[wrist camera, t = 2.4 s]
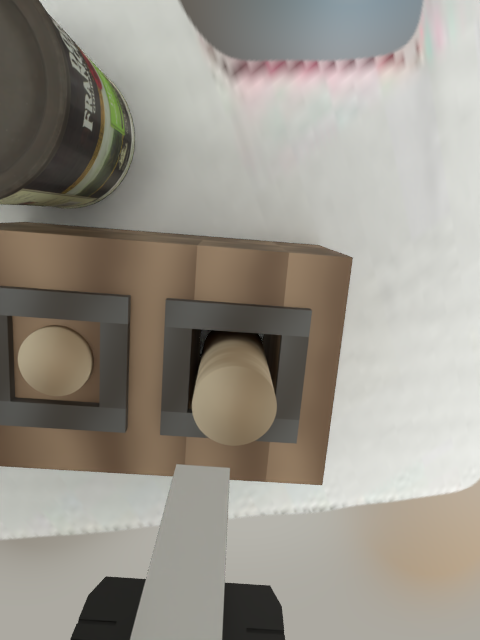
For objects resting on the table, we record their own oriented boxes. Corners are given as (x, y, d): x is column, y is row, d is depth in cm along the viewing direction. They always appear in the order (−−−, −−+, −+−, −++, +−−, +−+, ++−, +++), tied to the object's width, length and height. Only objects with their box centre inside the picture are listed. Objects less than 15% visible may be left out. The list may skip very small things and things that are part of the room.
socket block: (29, 397, 37) (-48, 469, 27) (25, 222, 34) (-66, 225, 24) (298, 415, 38) (324, 490, 28) (318, 245, 35) (355, 258, 24)
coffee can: (91, 28, 31) (-19, -119, 17) (159, 172, 33) (110, 143, 20) (-40, 95, 32) (-244, 6, 18) (36, 232, 34) (-95, 244, 20)
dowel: (201, 377, 31) (189, 442, 22) (205, 319, 30) (194, 363, 21) (260, 381, 31) (272, 448, 22) (265, 323, 30) (280, 369, 21)
